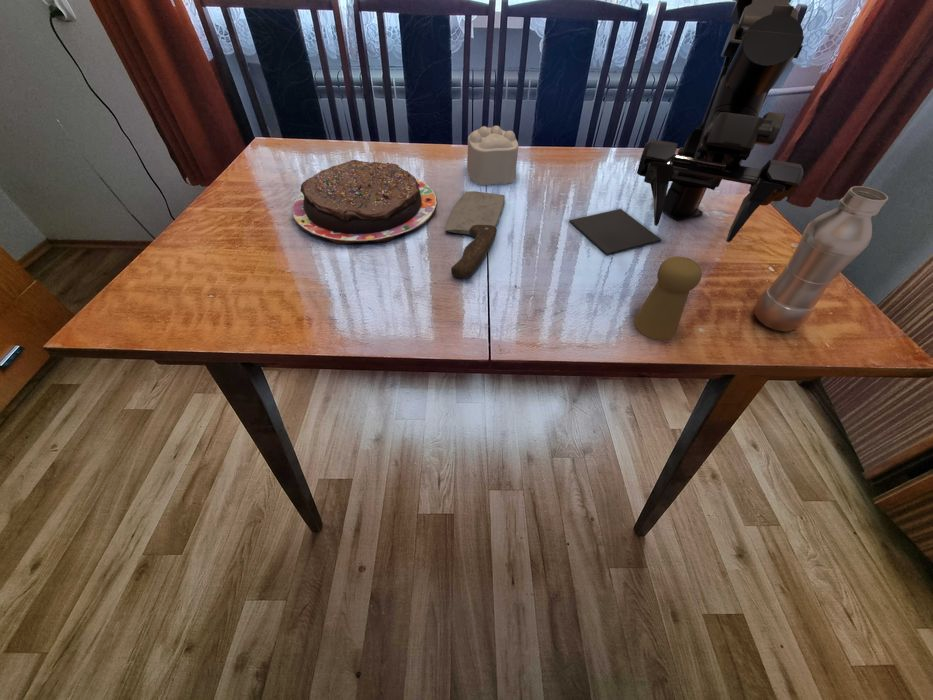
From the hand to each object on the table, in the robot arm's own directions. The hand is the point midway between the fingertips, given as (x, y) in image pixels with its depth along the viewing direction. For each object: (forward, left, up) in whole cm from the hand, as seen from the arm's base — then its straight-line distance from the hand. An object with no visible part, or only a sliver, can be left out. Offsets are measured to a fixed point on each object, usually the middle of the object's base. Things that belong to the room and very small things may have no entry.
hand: (691, 232), depth 56 cm
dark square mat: (-6, -20, -12) cm, 24 cm away
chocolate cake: (+35, -45, -12) cm, 59 cm away
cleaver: (+19, -29, -12) cm, 37 cm away
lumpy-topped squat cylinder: (+5, -51, -12) cm, 53 cm away
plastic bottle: (-13, +10, -12) cm, 20 cm away
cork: (+4, +4, -12) cm, 14 cm away
